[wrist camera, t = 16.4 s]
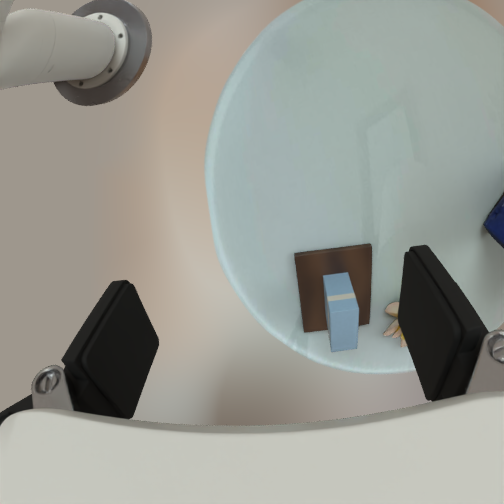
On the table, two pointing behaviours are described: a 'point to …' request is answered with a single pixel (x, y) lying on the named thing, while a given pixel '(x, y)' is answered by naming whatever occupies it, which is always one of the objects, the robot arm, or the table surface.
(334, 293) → the box
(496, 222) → the book
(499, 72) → the table surface
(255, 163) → the table surface
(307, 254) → the brown wooden board
